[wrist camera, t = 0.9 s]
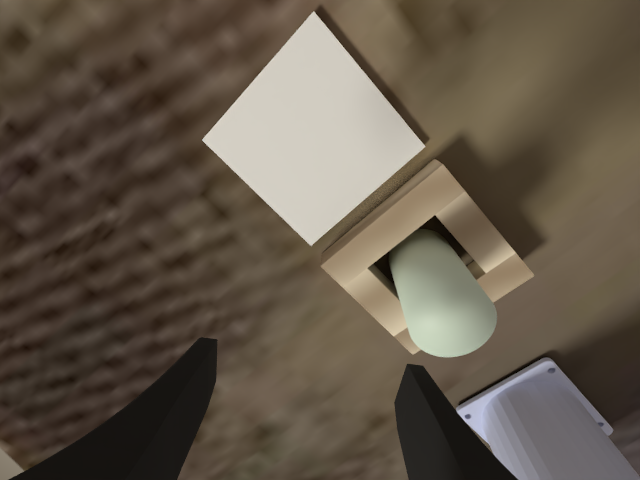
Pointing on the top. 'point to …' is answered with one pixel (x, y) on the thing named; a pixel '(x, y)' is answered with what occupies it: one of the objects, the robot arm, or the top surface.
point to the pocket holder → (403, 219)
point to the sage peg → (440, 296)
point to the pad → (313, 133)
